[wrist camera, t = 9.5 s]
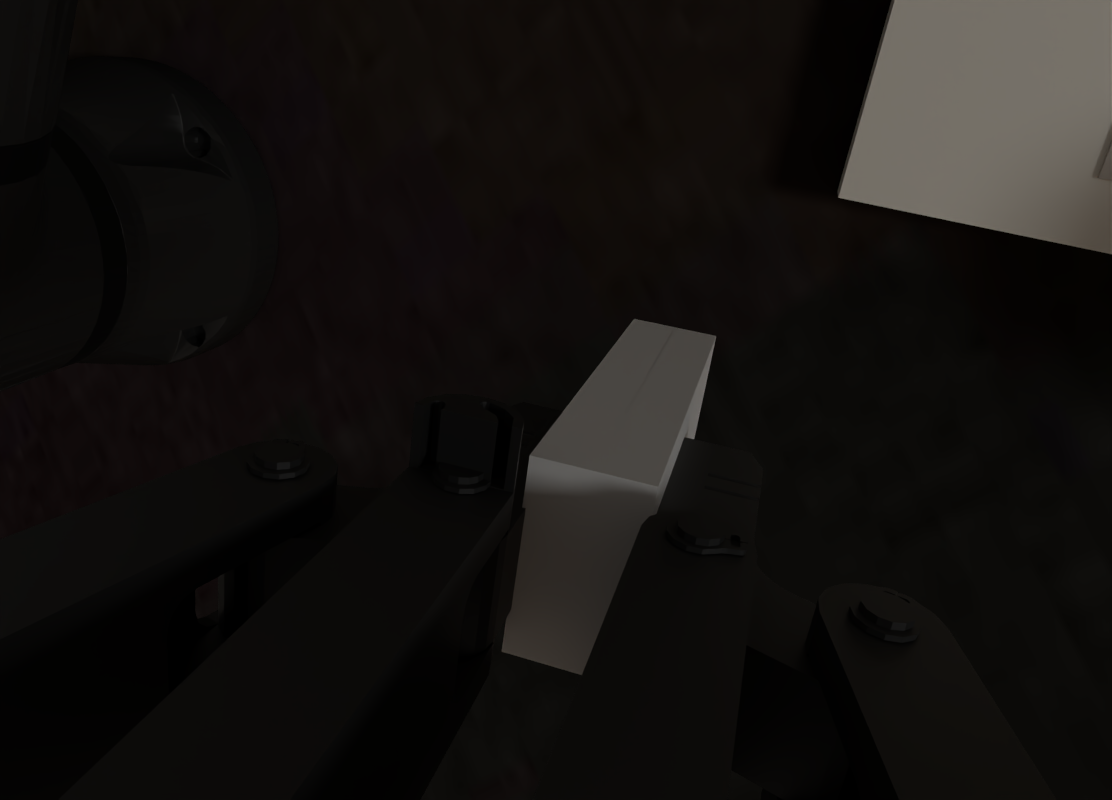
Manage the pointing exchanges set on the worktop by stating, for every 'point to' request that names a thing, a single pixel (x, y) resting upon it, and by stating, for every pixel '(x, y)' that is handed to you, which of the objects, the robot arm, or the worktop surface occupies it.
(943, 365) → the worktop surface
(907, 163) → the flat white box
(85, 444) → the worktop surface
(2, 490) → the worktop surface
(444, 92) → the worktop surface
